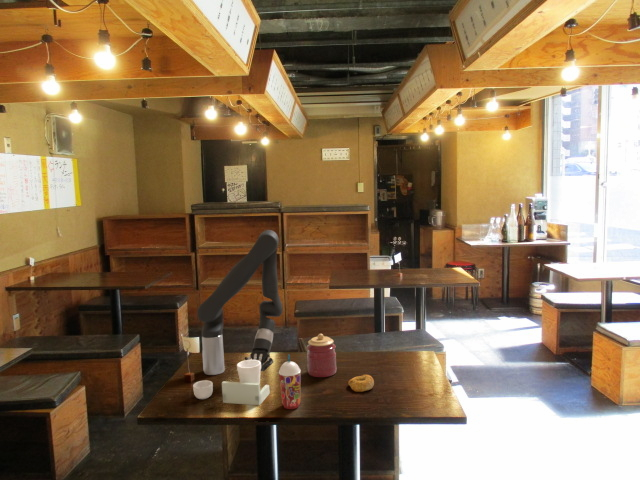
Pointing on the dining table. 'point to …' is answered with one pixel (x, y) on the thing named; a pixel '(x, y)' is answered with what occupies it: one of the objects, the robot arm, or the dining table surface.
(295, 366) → the smoothie
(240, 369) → the foam cup
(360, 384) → the bagel
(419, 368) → the dining table surface
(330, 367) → the canister
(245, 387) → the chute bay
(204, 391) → the teacup
